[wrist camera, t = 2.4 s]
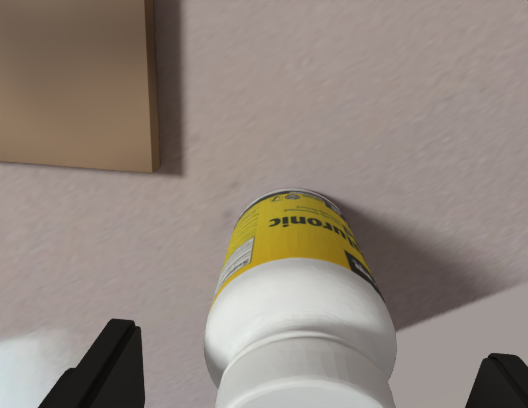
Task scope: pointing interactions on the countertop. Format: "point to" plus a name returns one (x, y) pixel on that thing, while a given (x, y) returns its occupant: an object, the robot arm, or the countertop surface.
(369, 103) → the countertop surface
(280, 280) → the supplement bottle
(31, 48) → the walnut board
